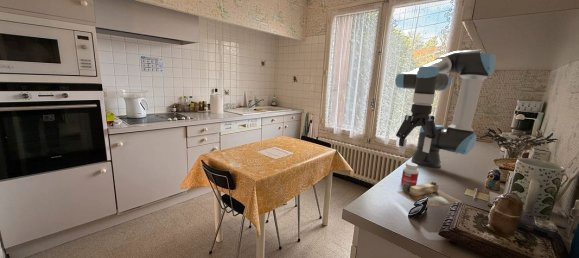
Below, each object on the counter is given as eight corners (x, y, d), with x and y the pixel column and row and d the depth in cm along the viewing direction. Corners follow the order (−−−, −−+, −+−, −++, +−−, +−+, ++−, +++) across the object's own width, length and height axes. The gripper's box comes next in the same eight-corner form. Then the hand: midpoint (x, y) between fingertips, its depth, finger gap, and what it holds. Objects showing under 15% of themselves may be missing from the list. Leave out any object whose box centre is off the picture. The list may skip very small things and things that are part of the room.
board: (431, 189, 105) (433, 179, 104) (461, 205, 92) (464, 194, 91) (395, 194, 98) (396, 183, 97) (422, 211, 86) (424, 199, 85)
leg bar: (431, 188, 102) (432, 180, 101) (439, 191, 99) (441, 183, 98) (408, 192, 96) (409, 184, 95) (415, 196, 93) (417, 188, 92)
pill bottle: (400, 188, 104) (404, 164, 102) (400, 183, 110) (404, 160, 107) (416, 191, 102) (420, 167, 100) (415, 186, 107) (419, 163, 105)
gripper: (436, 103, 105) (428, 149, 110) (391, 102, 98) (384, 151, 102) (452, 105, 98) (442, 154, 103) (405, 104, 91) (397, 156, 95)
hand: (413, 152), depth 102 cm, fingers open, 13 cm apart
